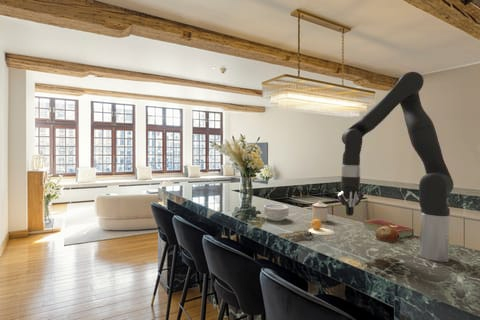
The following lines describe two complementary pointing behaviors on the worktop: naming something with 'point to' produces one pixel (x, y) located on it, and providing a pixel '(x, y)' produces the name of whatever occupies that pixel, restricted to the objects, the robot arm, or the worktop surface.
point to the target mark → (322, 231)
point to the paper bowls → (276, 211)
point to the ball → (316, 224)
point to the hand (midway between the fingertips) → (349, 215)
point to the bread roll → (387, 234)
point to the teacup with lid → (320, 211)
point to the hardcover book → (379, 223)
